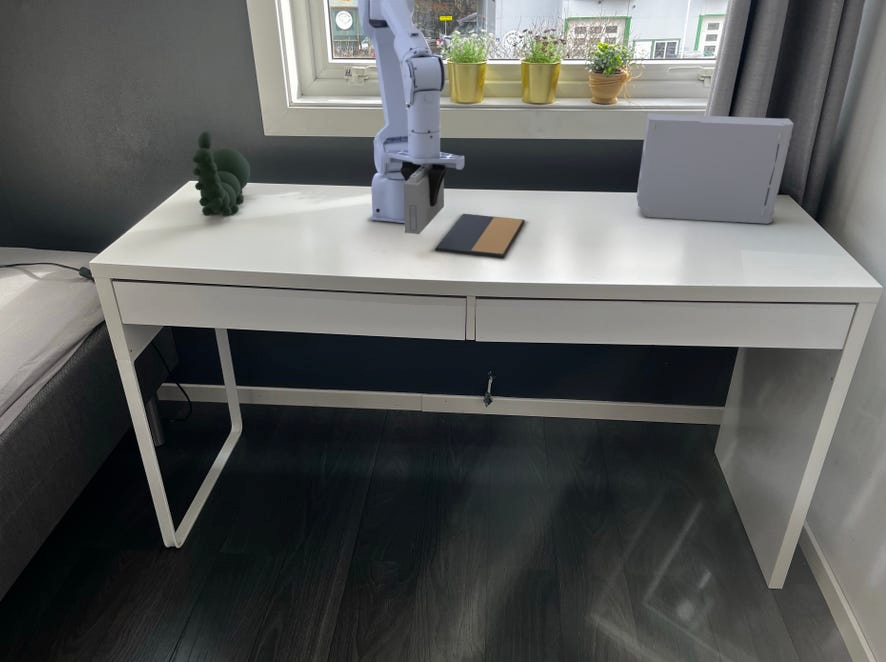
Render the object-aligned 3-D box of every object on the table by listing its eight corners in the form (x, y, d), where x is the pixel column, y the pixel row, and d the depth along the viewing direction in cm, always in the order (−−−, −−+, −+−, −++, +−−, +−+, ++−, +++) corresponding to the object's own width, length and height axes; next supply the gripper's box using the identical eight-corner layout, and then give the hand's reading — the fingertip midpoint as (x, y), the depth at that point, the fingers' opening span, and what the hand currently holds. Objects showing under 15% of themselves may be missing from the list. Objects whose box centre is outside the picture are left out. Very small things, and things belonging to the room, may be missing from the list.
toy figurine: (238, 233, 154) (260, 185, 174) (223, 141, 143) (247, 102, 163) (191, 233, 153) (218, 185, 174) (172, 142, 142) (203, 102, 163)
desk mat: (435, 251, 142) (435, 247, 141) (463, 216, 158) (463, 213, 158) (503, 258, 138) (503, 255, 138) (524, 222, 155) (524, 219, 155)
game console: (773, 225, 154) (796, 125, 144) (636, 217, 158) (649, 119, 148) (767, 215, 159) (789, 118, 149) (635, 208, 163) (647, 113, 153)
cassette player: (430, 205, 149) (430, 154, 144) (443, 206, 149) (443, 155, 143) (404, 232, 136) (403, 178, 131) (419, 234, 136) (418, 179, 131)
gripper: (377, 131, 132) (380, 206, 139) (457, 138, 129) (456, 214, 136) (391, 122, 138) (393, 195, 145) (468, 128, 135) (466, 202, 142)
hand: (424, 203), depth 141 cm, fingers closed on cassette player, 3 cm apart
